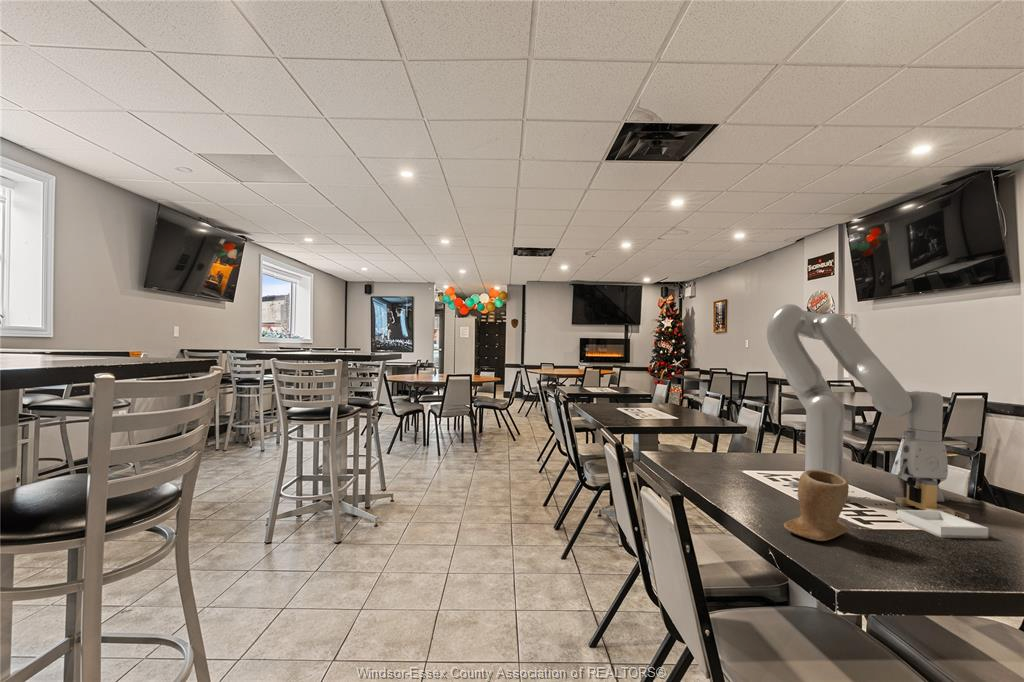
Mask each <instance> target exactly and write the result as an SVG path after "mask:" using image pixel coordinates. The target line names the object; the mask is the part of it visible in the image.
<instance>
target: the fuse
mask: <svg viewBox="0 0 1024 682" xmlns="http://www.w3.org/2000/svg"><path fill="white" fill-rule="evenodd" d="M907 476H908V475H907ZM913 480H915V478H913ZM919 488H920V489H921V503H917V502H914V501H911V500H909V486H908V485H907V501H906V503H907V504H909V505H912V506H915V507H914V508H917V509H919V510H926V508H932V509H937V504H938V503H937V482H936V481H933V480H930V479H927V478H921V480H920V487H919Z"/></svg>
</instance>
